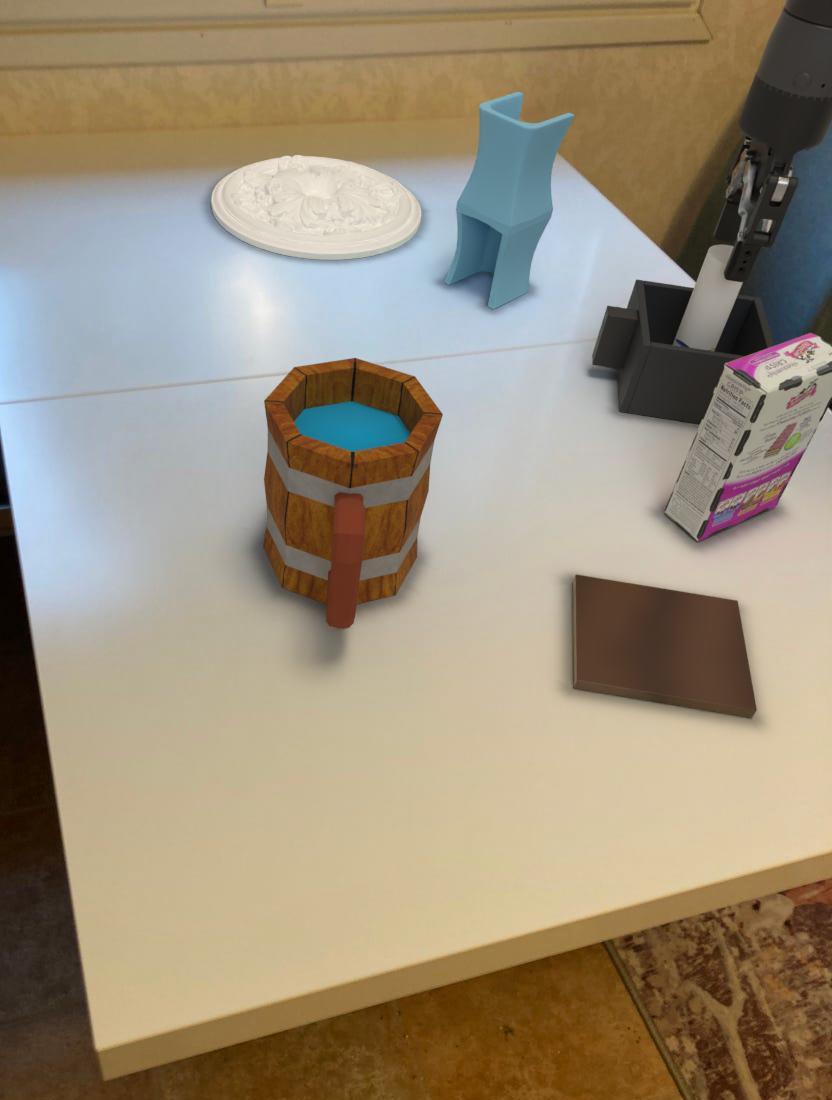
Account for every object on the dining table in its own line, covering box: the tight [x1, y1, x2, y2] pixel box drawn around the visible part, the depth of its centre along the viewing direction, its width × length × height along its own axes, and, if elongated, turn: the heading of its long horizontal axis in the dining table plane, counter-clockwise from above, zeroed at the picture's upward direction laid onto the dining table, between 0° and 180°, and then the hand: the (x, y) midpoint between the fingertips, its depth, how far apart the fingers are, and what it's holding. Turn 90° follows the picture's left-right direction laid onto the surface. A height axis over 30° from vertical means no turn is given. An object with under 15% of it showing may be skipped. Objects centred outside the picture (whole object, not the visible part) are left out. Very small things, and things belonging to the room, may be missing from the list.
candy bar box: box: [663, 332, 832, 542], centre depth 83 cm, size 11×5×16 cm, turn 122°
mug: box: [262, 357, 444, 630], centre depth 73 cm, size 20×14×15 cm
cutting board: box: [572, 574, 758, 718], centre depth 76 cm, size 14×12×1 cm
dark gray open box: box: [591, 278, 775, 425], centre depth 100 cm, size 17×14×8 cm
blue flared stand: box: [444, 91, 576, 310], centre depth 107 cm, size 8×8×20 cm
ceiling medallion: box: [210, 154, 422, 261], centre depth 123 cm, size 28×28×3 cm
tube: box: [673, 244, 744, 351], centre depth 97 cm, size 4×4×15 cm
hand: (728, 258), depth 92 cm, fingers open, 8 cm apart
